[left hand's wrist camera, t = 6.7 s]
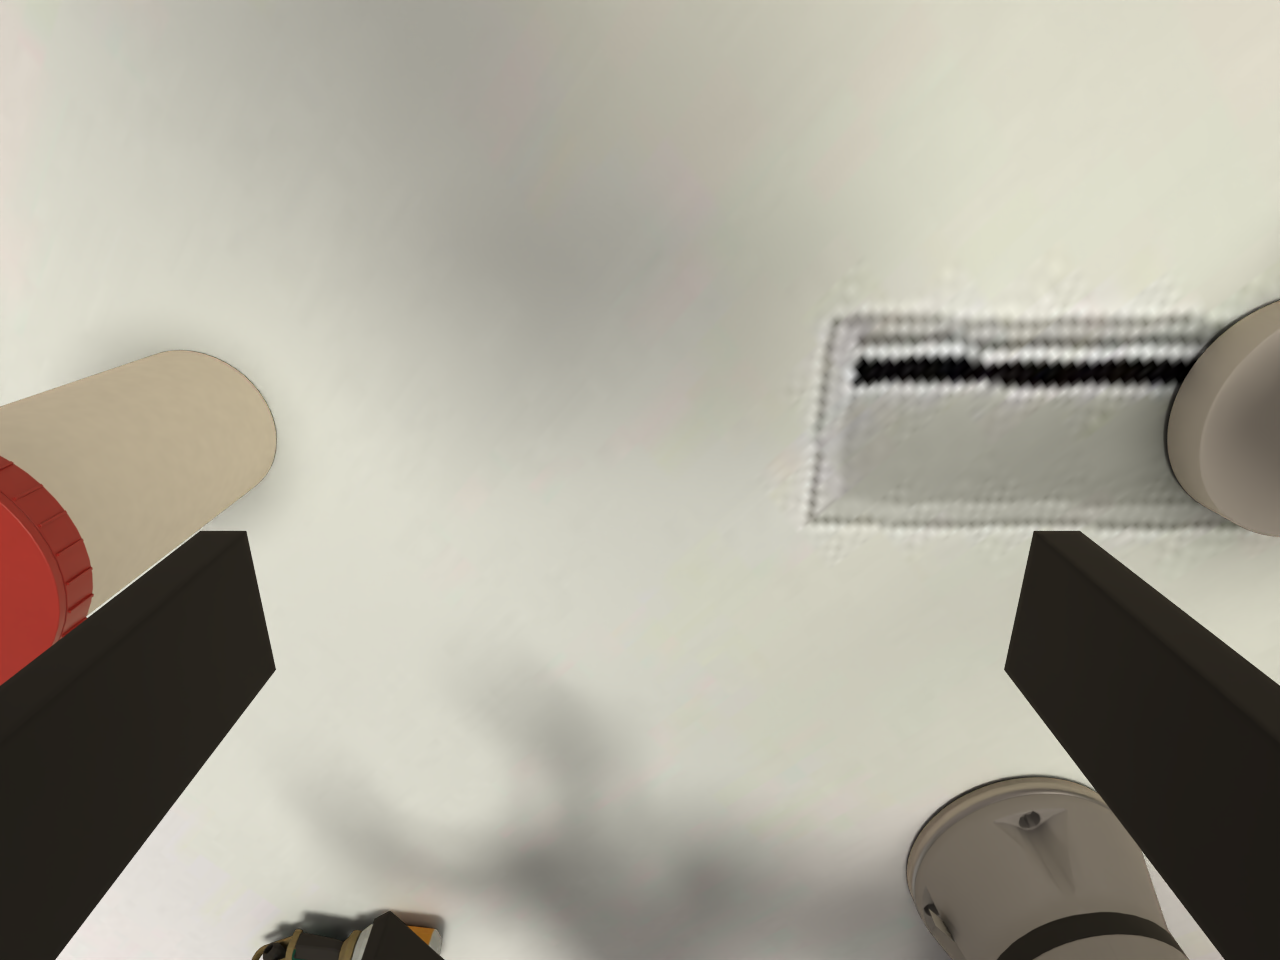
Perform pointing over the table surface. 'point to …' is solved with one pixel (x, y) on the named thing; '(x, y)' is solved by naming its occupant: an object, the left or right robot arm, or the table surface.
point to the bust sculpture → (1233, 425)
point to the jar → (142, 455)
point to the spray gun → (333, 945)
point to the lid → (37, 571)
